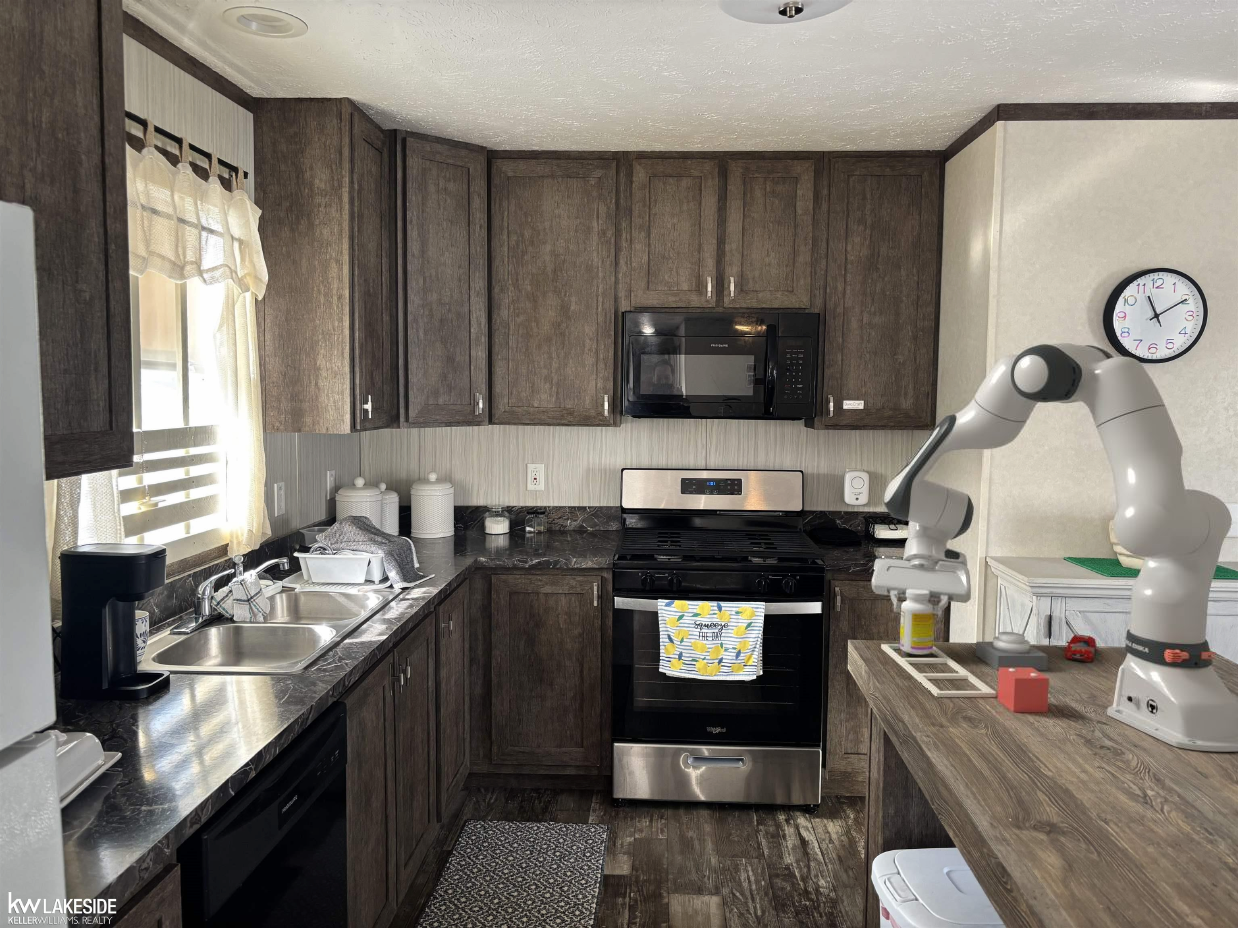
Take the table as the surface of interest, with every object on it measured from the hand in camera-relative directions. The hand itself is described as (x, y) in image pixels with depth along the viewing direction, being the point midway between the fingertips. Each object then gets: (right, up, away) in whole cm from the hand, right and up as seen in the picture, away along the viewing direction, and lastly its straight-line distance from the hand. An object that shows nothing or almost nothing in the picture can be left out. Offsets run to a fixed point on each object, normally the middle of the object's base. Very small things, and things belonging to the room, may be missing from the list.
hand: (916, 612), depth 182 cm
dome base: (+18, -10, -3) cm, 21 cm away
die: (+9, -12, -28) cm, 32 cm away
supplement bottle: (0, -8, +1) cm, 9 cm away
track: (0, -10, -9) cm, 13 cm away
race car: (+36, -10, +3) cm, 38 cm away
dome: (+18, -7, -3) cm, 20 cm away
